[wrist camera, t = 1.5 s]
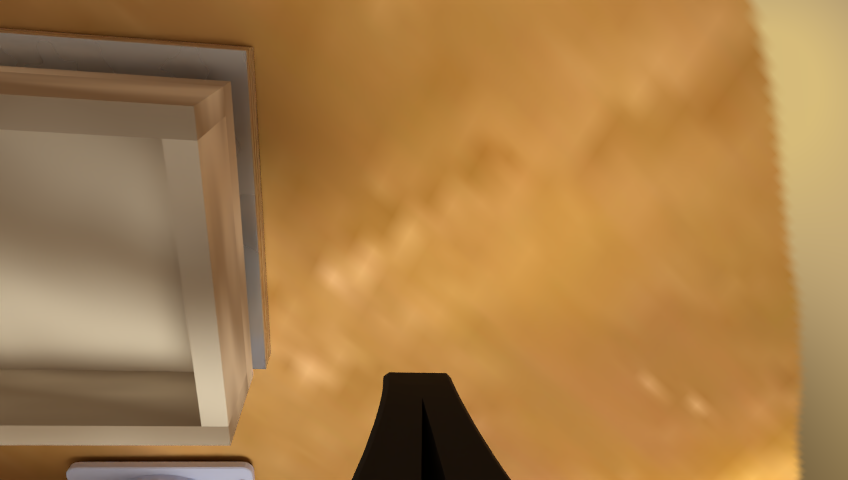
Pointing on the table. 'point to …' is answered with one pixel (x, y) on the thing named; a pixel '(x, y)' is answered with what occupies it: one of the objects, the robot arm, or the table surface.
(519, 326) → the table surface
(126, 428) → the brown open box
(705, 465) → the table surface
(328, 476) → the table surface
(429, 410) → the robot arm
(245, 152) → the rail board
